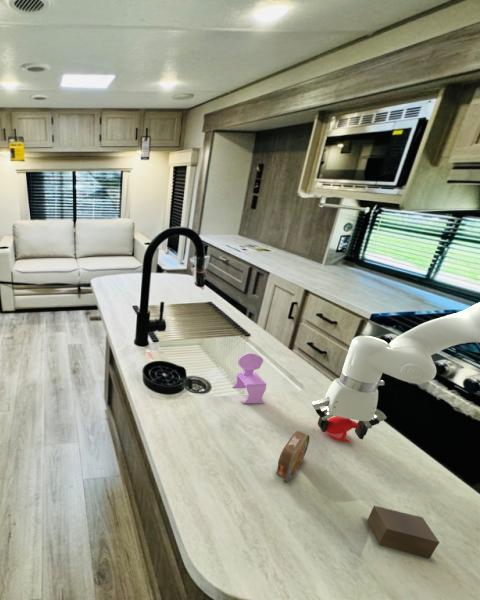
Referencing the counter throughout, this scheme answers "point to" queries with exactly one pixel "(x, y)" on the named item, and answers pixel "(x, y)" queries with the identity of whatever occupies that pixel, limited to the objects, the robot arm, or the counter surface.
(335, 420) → the cap
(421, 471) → the counter surface
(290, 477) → the tin
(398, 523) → the stop block
